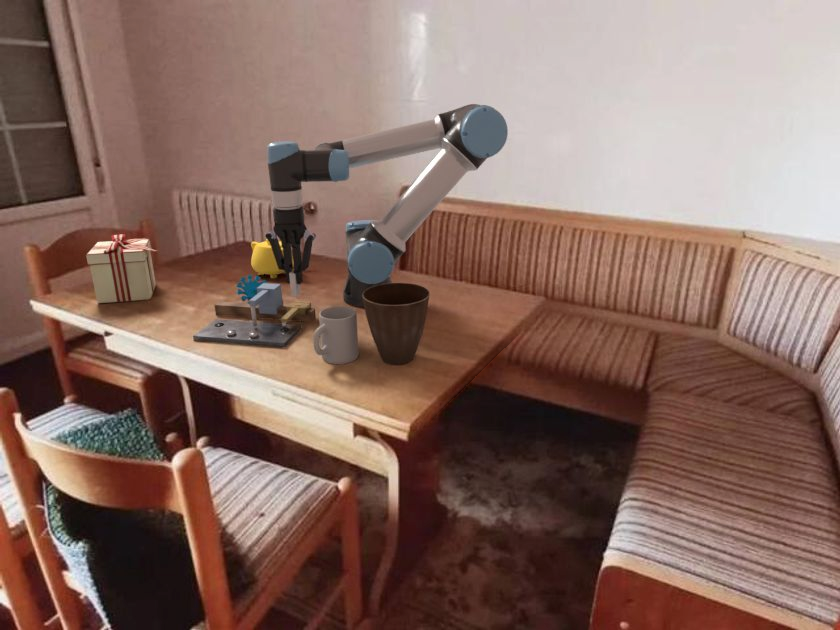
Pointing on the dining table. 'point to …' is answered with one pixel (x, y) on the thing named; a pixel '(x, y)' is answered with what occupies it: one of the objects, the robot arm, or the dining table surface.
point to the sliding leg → (266, 300)
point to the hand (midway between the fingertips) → (295, 295)
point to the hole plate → (248, 333)
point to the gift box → (122, 269)
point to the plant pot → (396, 319)
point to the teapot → (265, 259)
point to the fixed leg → (295, 311)
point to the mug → (337, 335)
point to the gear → (249, 287)
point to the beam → (245, 311)
